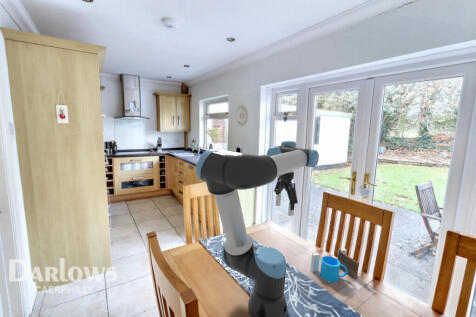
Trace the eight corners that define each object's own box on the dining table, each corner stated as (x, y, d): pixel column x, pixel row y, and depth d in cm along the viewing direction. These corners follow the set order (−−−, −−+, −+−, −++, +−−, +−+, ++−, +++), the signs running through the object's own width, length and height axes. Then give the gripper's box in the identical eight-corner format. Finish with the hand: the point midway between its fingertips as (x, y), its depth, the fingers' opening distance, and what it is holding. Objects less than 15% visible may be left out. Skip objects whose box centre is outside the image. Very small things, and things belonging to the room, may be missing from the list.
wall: (344, 265, 116) (346, 249, 114) (312, 272, 110) (314, 254, 108) (342, 264, 117) (344, 247, 116) (310, 270, 111) (312, 252, 110)
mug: (321, 280, 104) (323, 264, 103) (318, 269, 112) (320, 254, 111) (349, 285, 102) (351, 269, 101) (344, 273, 110) (346, 258, 108)
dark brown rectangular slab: (341, 265, 115) (343, 251, 114) (358, 277, 107) (360, 262, 106) (338, 267, 114) (340, 252, 113) (355, 278, 106) (357, 263, 105)
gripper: (307, 176, 104) (303, 219, 107) (281, 166, 127) (279, 201, 130) (293, 177, 101) (290, 221, 105) (269, 166, 125) (267, 202, 128)
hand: (283, 210), depth 118 cm, fingers open, 13 cm apart
